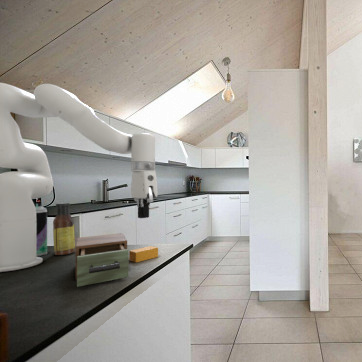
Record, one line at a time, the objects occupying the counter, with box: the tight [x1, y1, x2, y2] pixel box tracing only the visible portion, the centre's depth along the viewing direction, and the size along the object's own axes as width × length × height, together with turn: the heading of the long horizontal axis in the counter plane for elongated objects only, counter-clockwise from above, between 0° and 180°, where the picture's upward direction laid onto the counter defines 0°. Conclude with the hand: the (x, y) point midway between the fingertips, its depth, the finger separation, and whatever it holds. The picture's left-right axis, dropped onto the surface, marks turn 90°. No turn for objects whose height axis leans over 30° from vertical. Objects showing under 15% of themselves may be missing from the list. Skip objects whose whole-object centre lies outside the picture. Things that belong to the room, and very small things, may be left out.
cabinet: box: [75, 232, 128, 281], centre depth 84 cm, size 15×13×10 cm
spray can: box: [33, 202, 48, 257], centre depth 99 cm, size 6×6×20 cm
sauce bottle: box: [52, 202, 76, 256], centre depth 100 cm, size 7×6×20 cm
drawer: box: [76, 243, 130, 288], centre depth 74 cm, size 18×11×8 cm, turn 38°
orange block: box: [129, 245, 159, 263], centre depth 94 cm, size 8×4×4 cm, turn 148°
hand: (143, 217), depth 94 cm, fingers closed
